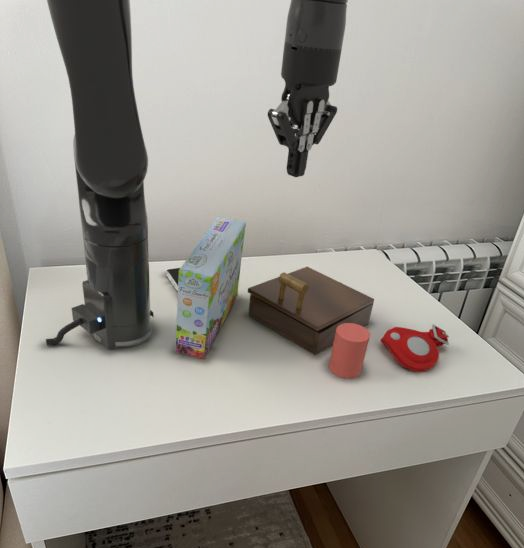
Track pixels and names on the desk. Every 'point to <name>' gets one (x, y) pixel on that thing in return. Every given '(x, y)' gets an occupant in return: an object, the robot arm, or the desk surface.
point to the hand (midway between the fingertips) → (295, 175)
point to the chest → (303, 325)
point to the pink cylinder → (349, 350)
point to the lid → (311, 297)
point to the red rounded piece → (415, 346)
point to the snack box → (208, 286)
